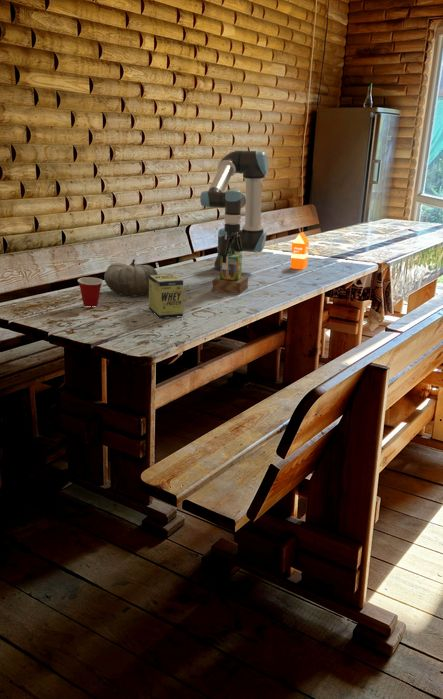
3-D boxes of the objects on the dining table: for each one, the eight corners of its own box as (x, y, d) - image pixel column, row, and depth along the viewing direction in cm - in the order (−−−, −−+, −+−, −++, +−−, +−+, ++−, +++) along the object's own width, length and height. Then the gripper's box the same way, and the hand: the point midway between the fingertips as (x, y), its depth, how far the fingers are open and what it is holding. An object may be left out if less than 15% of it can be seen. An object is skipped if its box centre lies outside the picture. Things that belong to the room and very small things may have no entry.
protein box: (159, 319, 280) (159, 282, 275) (148, 309, 294) (148, 274, 289) (183, 317, 284) (184, 280, 279) (171, 307, 298) (171, 273, 293)
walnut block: (212, 292, 330) (212, 280, 328) (220, 286, 343) (221, 274, 341) (240, 294, 326) (240, 282, 324) (247, 288, 339) (248, 277, 337)
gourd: (127, 297, 301) (125, 258, 299) (93, 297, 318) (91, 259, 316) (168, 295, 319) (167, 258, 317) (134, 294, 336) (133, 259, 334)
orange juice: (290, 268, 390) (292, 233, 384) (294, 265, 398) (296, 231, 392) (303, 269, 387) (305, 234, 381) (307, 266, 395) (309, 232, 389)
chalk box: (237, 281, 327) (238, 250, 322) (219, 279, 329) (219, 249, 324) (242, 277, 335) (242, 247, 331) (224, 276, 338) (224, 246, 333)
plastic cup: (92, 311, 289) (91, 283, 285) (73, 307, 294) (72, 280, 290) (108, 306, 297) (108, 279, 294) (90, 302, 303) (89, 275, 299)
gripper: (228, 226, 312) (226, 272, 318) (250, 221, 333) (248, 263, 340) (213, 225, 315) (212, 270, 322) (236, 219, 336) (235, 262, 343)
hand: (231, 267), depth 331 cm, fingers open, 13 cm apart
